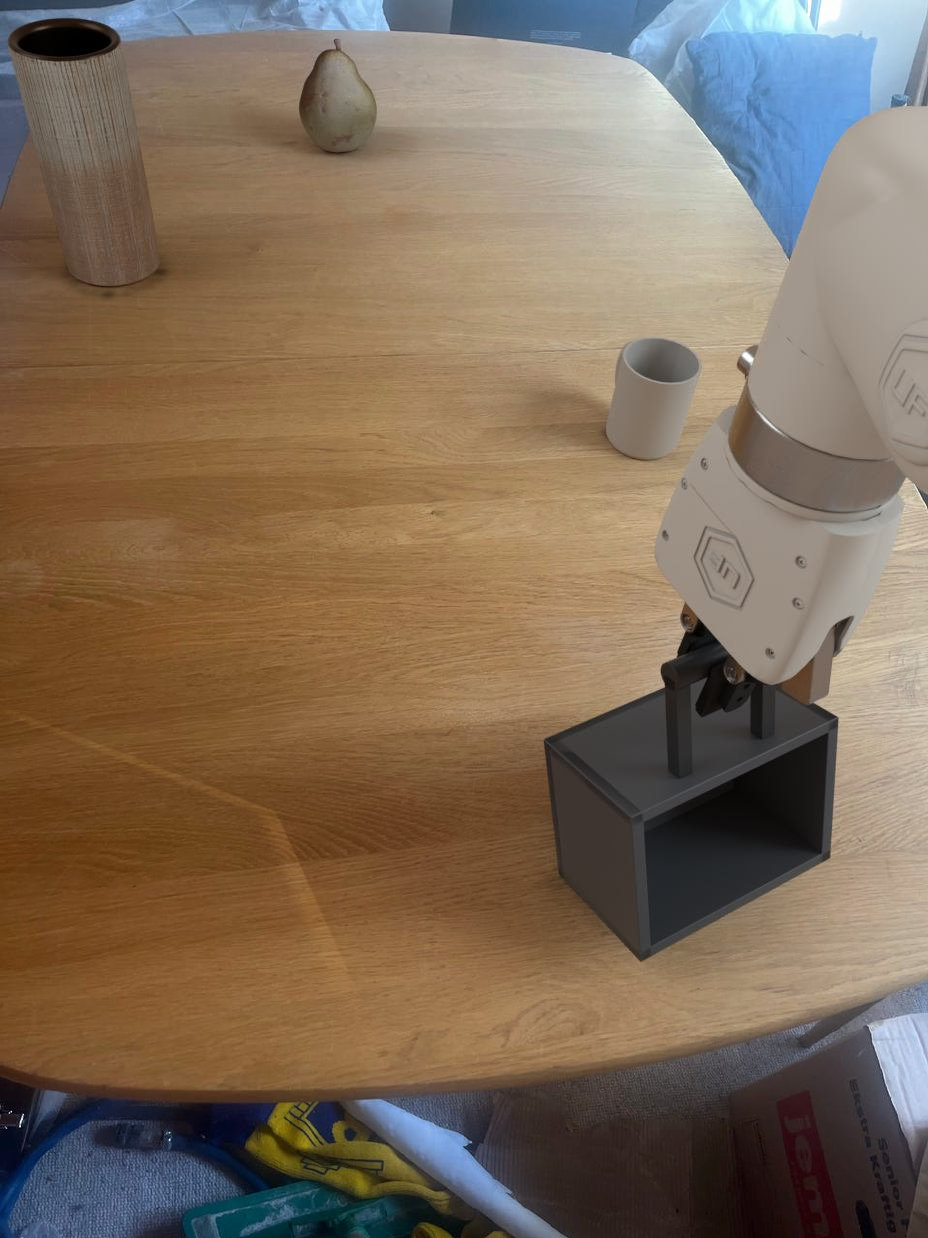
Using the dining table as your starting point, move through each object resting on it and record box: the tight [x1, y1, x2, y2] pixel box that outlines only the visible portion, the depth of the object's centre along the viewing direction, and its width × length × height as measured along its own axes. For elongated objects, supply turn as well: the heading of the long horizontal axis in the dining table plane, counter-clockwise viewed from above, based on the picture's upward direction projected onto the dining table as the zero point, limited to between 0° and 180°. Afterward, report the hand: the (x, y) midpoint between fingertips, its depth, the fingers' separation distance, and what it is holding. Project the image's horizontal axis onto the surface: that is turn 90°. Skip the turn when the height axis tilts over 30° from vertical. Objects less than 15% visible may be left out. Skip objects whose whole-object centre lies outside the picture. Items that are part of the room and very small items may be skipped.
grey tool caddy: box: [542, 641, 840, 963], centre depth 58 cm, size 18×15×9 cm
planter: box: [6, 17, 161, 287], centre depth 98 cm, size 10×10×23 cm
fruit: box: [298, 38, 378, 153], centre depth 124 cm, size 10×9×12 cm
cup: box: [605, 336, 703, 461], centre depth 91 cm, size 7×10×9 cm
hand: (706, 687), depth 54 cm, fingers closed on grey tool caddy
